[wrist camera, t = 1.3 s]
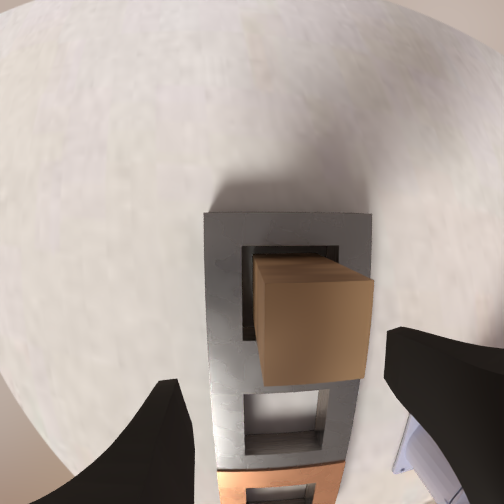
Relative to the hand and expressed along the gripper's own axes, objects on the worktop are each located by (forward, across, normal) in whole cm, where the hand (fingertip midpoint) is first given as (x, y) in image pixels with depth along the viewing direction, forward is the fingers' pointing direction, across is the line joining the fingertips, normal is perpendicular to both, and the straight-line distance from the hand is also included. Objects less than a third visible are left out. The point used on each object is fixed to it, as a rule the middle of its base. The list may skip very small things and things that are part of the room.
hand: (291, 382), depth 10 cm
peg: (+10, -2, 0) cm, 11 cm away
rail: (+9, -1, +9) cm, 13 cm away
